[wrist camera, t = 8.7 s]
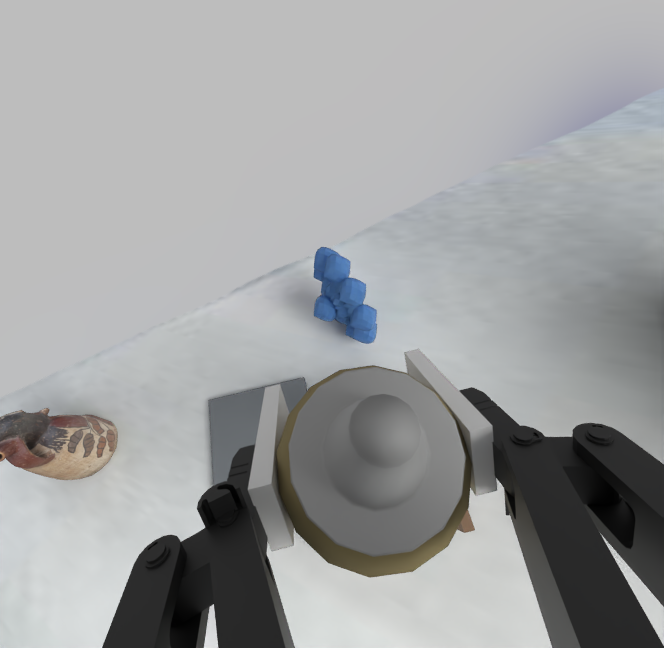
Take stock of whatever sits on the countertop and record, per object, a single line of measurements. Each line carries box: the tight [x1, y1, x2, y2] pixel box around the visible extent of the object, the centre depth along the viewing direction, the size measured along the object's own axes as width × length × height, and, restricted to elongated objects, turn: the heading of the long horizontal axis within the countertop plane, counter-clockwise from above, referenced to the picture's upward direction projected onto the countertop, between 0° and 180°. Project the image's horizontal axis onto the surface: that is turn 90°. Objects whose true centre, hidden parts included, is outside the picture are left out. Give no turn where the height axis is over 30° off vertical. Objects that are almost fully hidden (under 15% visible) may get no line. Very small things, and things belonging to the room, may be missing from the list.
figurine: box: [0, 408, 117, 480], centre depth 34 cm, size 7×7×12 cm
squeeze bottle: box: [277, 365, 472, 577], centre depth 13 cm, size 8×8×18 cm
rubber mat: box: [209, 377, 307, 485], centre depth 38 cm, size 12×12×1 cm
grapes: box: [314, 247, 377, 344], centre depth 39 cm, size 12×7×12 cm, turn 32°
